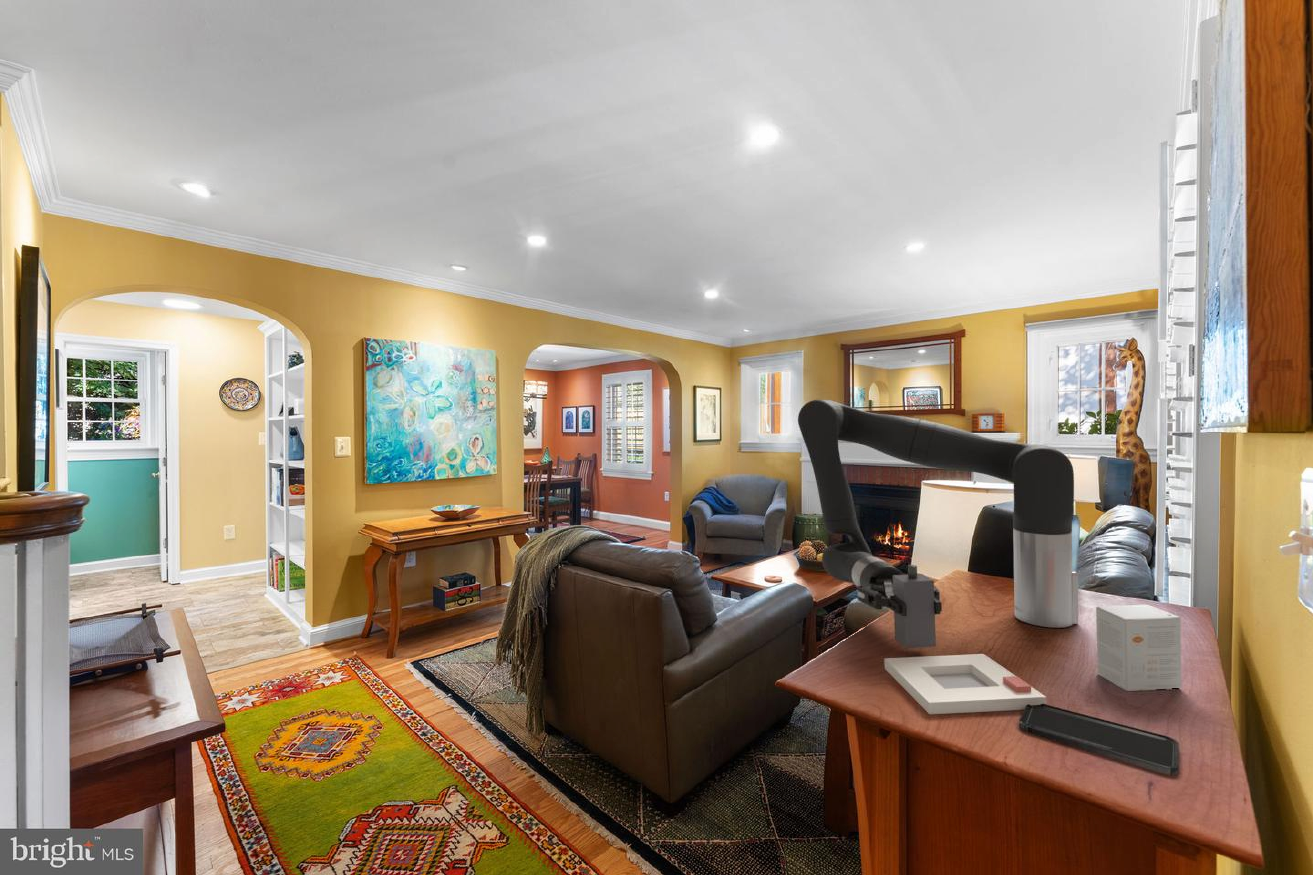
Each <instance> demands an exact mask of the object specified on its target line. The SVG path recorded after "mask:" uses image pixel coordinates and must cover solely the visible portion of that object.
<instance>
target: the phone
mask: <svg viewBox="0 0 1313 875" xmlns="http://www.w3.org/2000/svg"><path fill="white" fill-rule="evenodd" d="M1018 728H1019V729H1020V730H1021V731H1023V732H1025V733H1028V734H1031V735H1034V736H1037V737H1040V738H1044V739H1047V740H1051V741H1054V742H1058V743H1060V744H1064V745H1067V746H1070V747H1074V748H1077V749H1080V750H1084V751H1087V752H1090V753H1094V754H1098V755H1100V756H1104V757H1106V758H1107V757H1108V758H1110V759H1113V760H1118V761H1120V762H1124V763H1125V764H1126V763H1127V764H1131V765H1134V766H1137V767H1141V768H1144V769H1147V770H1150V771H1153V772H1157V773H1160V774H1164V775H1168V776H1177V775H1178V774H1179V765H1180V764H1179V759H1180V758H1179V756H1180V744H1179V742H1178V740H1176V739H1174V738H1173V737H1170V736H1168V735H1163V734H1159V733H1157V732H1152V731H1149V730H1145V729H1141V728H1138V727H1137V728H1136V727H1133V726H1130V725H1126V724H1121V723H1117V722H1114V721H1110V720H1105V719H1103V718H1098V717H1095V716H1091V715H1087V714H1084V713H1080V712H1076V711H1072V710H1069V709H1065V708H1061V707H1057V706H1053V705H1050V704H1047V703H1046V704H1041V705H1030V704H1028V705H1027V706H1026V708H1025V710H1023V712H1022V713H1021V716H1020V718H1019V719H1018Z"/></svg>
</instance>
